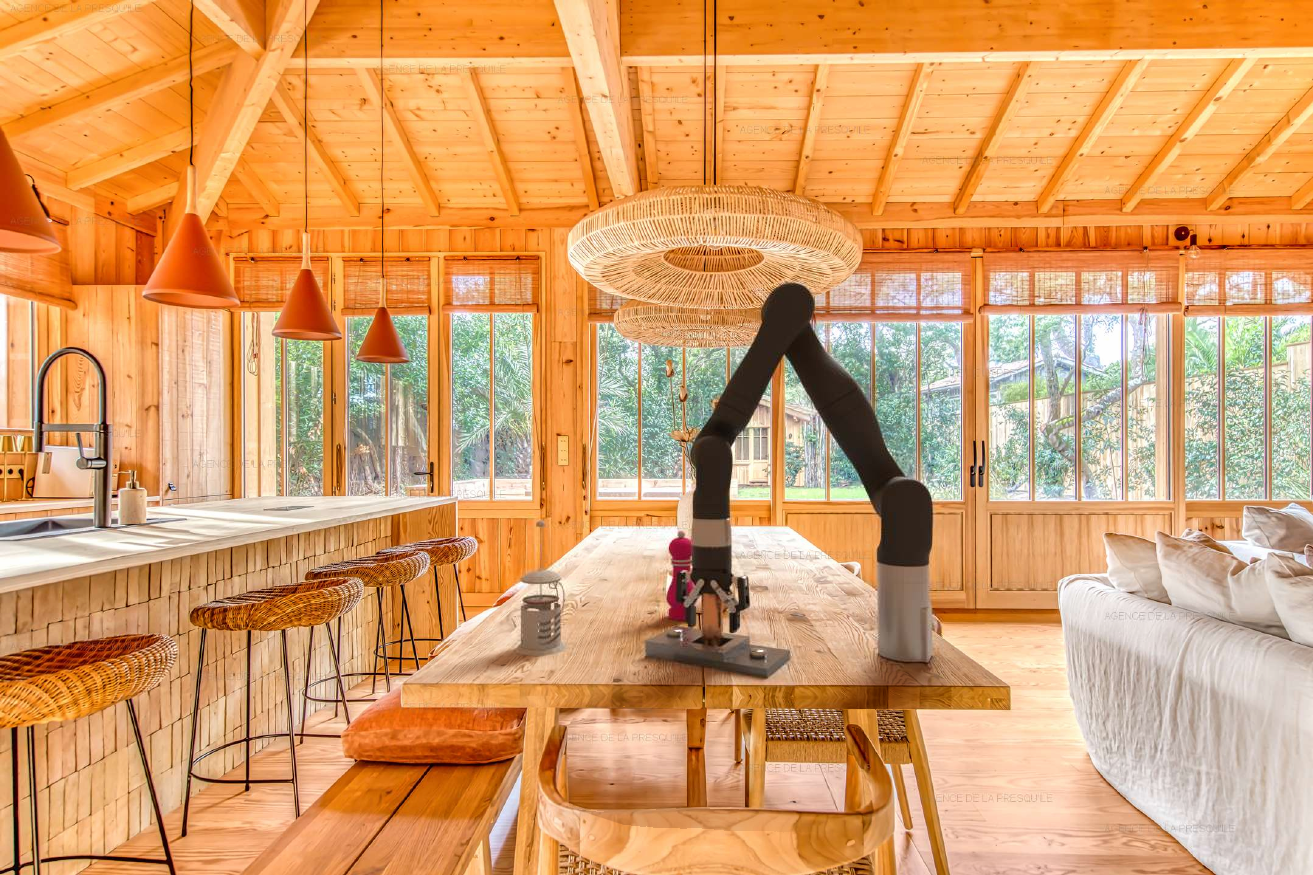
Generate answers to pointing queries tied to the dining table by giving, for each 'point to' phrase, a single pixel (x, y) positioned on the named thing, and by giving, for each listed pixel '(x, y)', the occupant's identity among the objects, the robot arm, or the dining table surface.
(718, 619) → the copper pin
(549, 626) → the french press
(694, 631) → the upper link
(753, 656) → the lower link
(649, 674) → the dining table surface
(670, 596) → the pepper mill
